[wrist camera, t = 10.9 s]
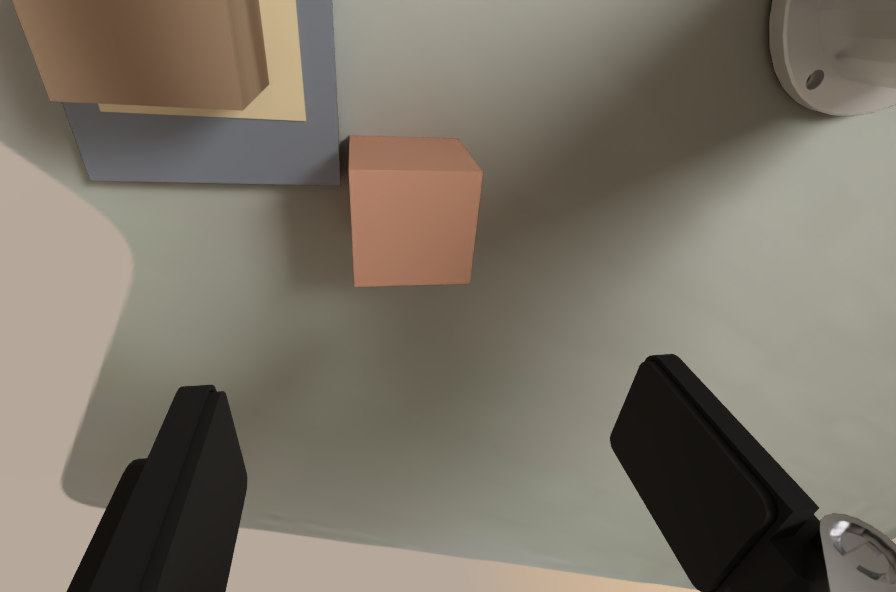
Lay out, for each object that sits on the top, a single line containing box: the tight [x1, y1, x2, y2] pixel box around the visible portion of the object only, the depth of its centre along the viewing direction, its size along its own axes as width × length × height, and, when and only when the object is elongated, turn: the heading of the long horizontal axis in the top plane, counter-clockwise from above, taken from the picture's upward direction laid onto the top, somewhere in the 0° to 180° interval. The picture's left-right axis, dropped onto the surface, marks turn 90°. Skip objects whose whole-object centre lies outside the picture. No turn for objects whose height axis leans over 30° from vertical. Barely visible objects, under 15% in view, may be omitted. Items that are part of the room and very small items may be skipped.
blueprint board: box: [62, 0, 341, 186], centre depth 16 cm, size 10×13×1 cm
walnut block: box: [12, 0, 269, 111], centre depth 13 cm, size 5×5×5 cm
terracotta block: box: [349, 135, 483, 287], centre depth 20 cm, size 5×5×5 cm
